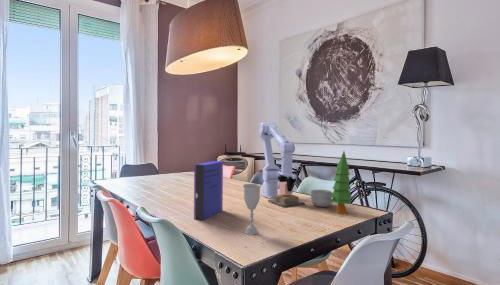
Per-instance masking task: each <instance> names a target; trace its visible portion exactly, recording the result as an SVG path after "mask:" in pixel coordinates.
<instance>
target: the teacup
mask: <svg viewBox="0 0 500 285" xmlns="http://www.w3.org/2000/svg"><path fill="white" fill-rule="evenodd" d="M332 193H333V191H332V190H330V189H312V190H310V200H311V203H312V204H314V206H315V207H320V208H321V207H323V208H324V207H328V206H329V205H331V204H332V203H334V202H332V200H333V198H331V196H332Z"/></svg>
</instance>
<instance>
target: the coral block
mask: <svg viewBox="0 0 500 285" xmlns="http://www.w3.org/2000/svg"><path fill="white" fill-rule="evenodd" d="M278 190H279V191H278V192H279V193H278V194H284V195H288V194H292V195H294V194H293V189H292V191H288V189H287V182H286V181H284V182H278Z"/></svg>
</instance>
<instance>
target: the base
mask: <svg viewBox="0 0 500 285" xmlns="http://www.w3.org/2000/svg"><path fill="white" fill-rule="evenodd" d="M267 201H268V203H270V204H272V205H275V206H279V207H281V208H291V207H297V206H304V205H306V202H305V201H302V200H299V196H297V195H294V194H288V195H284V194H280V193H278V195H275V198H271V199H268V200H267Z"/></svg>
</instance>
